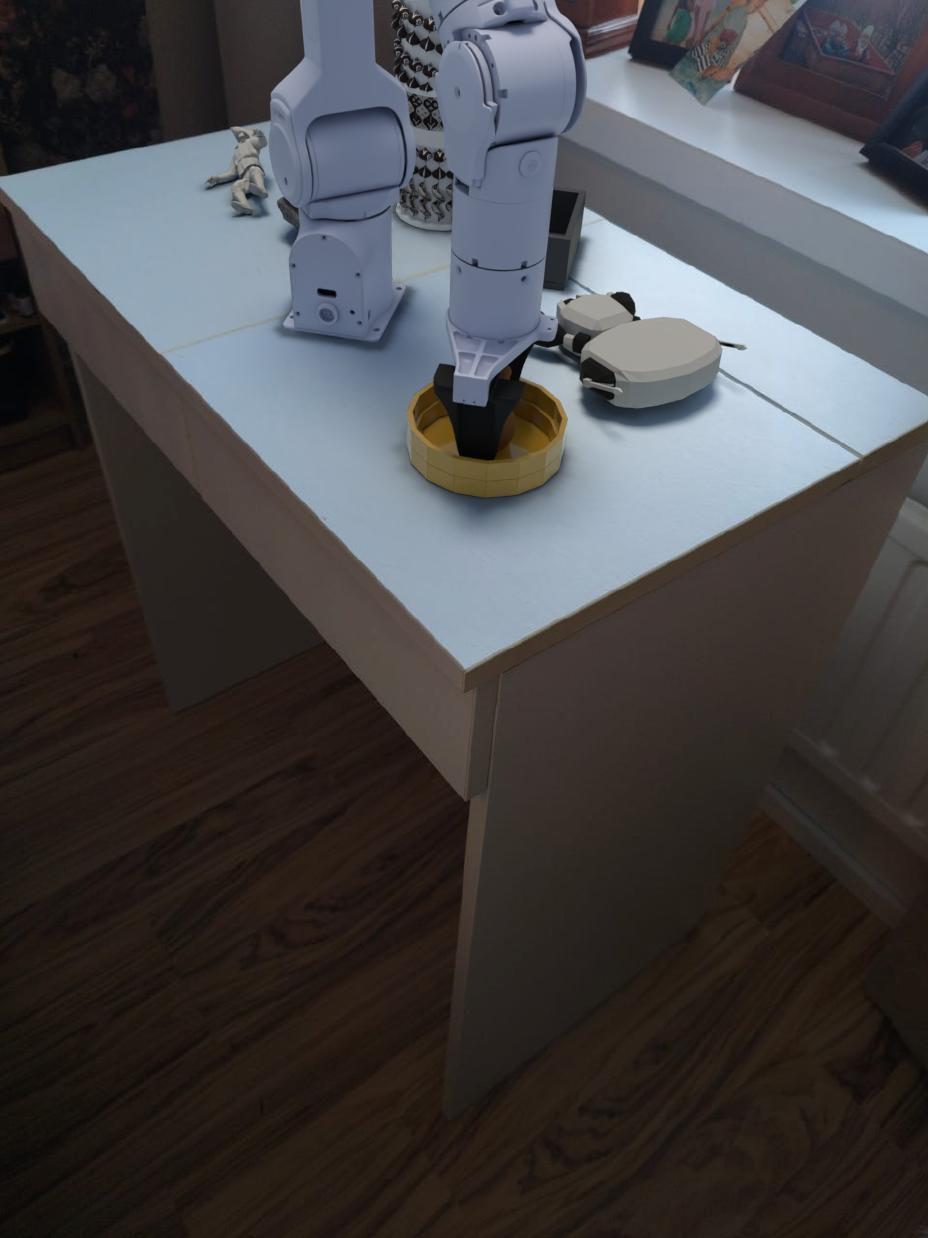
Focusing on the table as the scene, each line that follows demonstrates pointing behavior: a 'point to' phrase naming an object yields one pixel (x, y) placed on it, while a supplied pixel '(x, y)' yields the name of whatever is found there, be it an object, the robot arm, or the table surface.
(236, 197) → the soldier figure
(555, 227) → the bin
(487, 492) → the bowl
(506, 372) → the teddy
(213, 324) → the table surface
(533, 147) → the robot arm
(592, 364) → the robot toy
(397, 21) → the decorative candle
